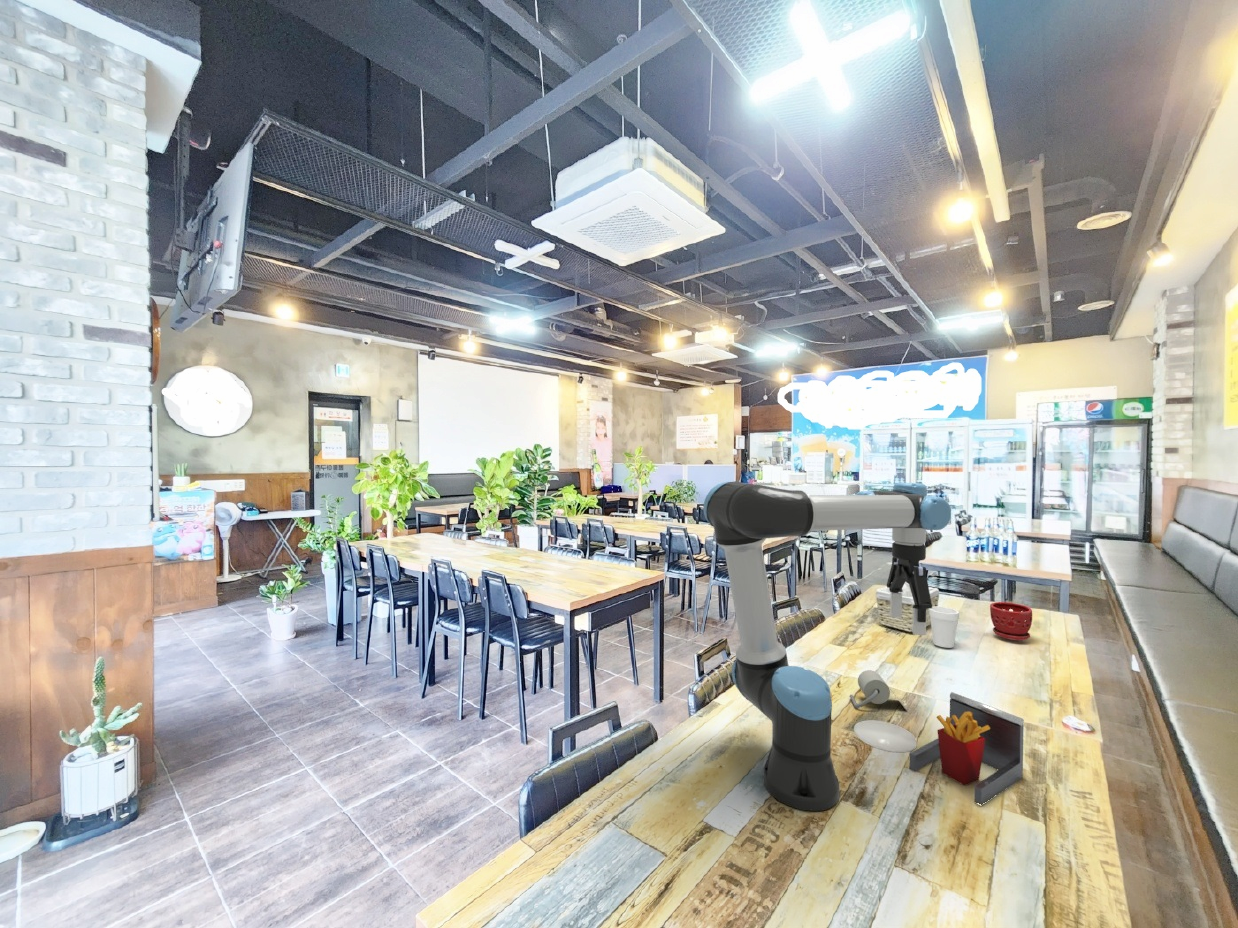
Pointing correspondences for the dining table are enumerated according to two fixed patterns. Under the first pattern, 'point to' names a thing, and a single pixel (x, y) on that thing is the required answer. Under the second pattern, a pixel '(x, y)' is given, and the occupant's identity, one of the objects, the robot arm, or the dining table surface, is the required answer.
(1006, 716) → the gray bracket
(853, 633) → the dining table surface
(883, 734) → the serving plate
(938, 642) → the foam cup
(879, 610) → the storage basket
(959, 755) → the french fries
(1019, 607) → the plant pot
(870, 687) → the toilet paper roll
